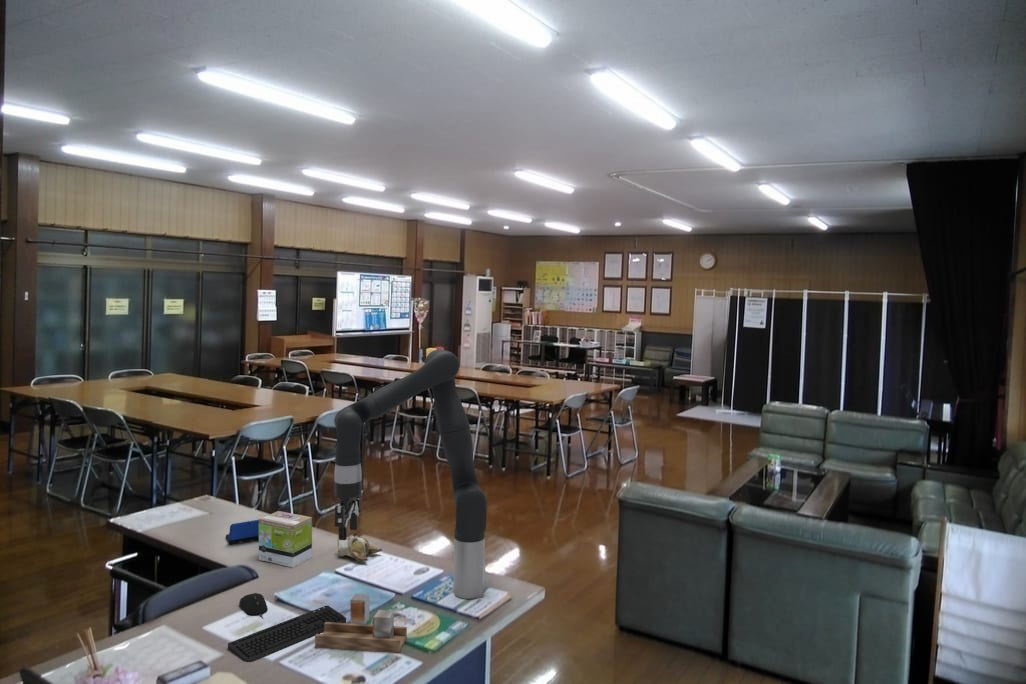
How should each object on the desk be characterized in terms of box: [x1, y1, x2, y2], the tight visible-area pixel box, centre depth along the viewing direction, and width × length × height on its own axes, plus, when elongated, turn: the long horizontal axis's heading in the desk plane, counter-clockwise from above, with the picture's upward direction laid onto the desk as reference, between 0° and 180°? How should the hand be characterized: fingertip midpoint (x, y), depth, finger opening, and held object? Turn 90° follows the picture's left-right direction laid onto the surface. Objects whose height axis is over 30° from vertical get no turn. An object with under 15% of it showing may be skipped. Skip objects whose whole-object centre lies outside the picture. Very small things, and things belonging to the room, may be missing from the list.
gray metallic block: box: [349, 593, 370, 624], centre depth 186 cm, size 4×5×7 cm
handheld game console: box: [225, 519, 259, 546], centre depth 248 cm, size 16×13×9 cm
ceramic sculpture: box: [337, 533, 383, 562], centre depth 232 cm, size 11×9×15 cm
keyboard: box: [227, 605, 347, 663], centre depth 179 cm, size 30×11×2 cm, turn 139°
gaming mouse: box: [239, 592, 269, 620], centre depth 193 cm, size 6×15×4 cm, turn 37°
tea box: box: [258, 510, 313, 569], centre depth 229 cm, size 15×10×15 cm
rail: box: [314, 609, 408, 653], centre depth 175 cm, size 22×8×8 cm, turn 85°
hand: (348, 534), depth 193 cm, fingers open, 8 cm apart
